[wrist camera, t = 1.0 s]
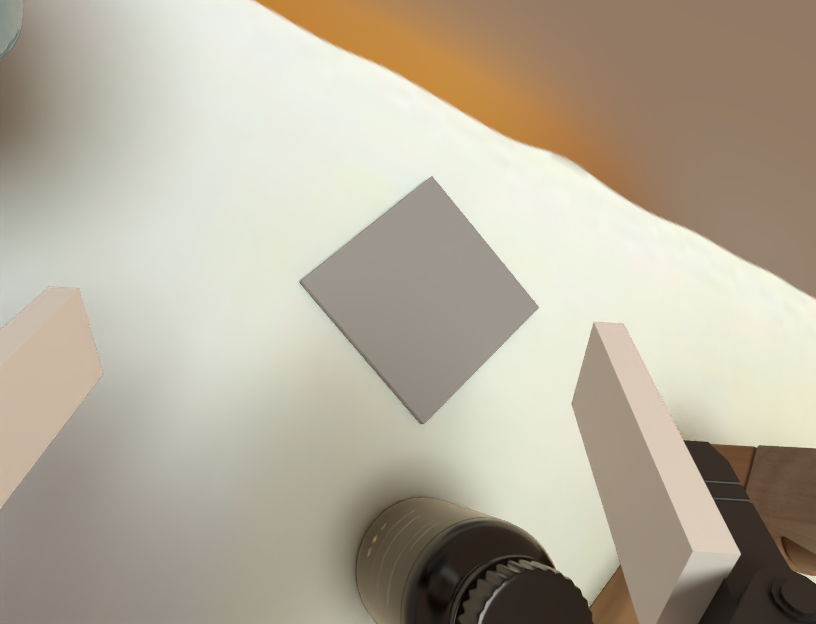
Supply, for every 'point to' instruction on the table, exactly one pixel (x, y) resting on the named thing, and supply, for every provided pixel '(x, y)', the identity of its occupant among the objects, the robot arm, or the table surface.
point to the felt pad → (421, 298)
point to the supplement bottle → (460, 570)
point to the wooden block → (781, 496)
